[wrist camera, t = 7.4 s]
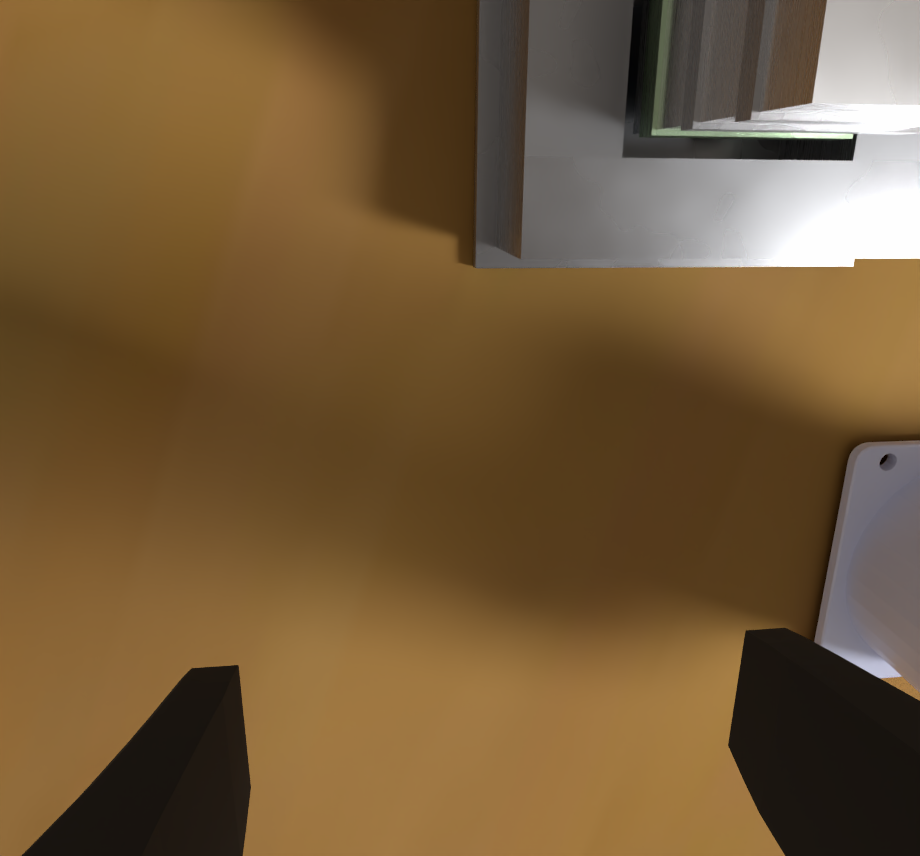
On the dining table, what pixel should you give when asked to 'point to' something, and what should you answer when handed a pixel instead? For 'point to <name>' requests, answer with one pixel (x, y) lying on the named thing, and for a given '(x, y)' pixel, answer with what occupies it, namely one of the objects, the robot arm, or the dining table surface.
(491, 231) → the stand base
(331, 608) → the dining table surface
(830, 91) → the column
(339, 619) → the dining table surface
